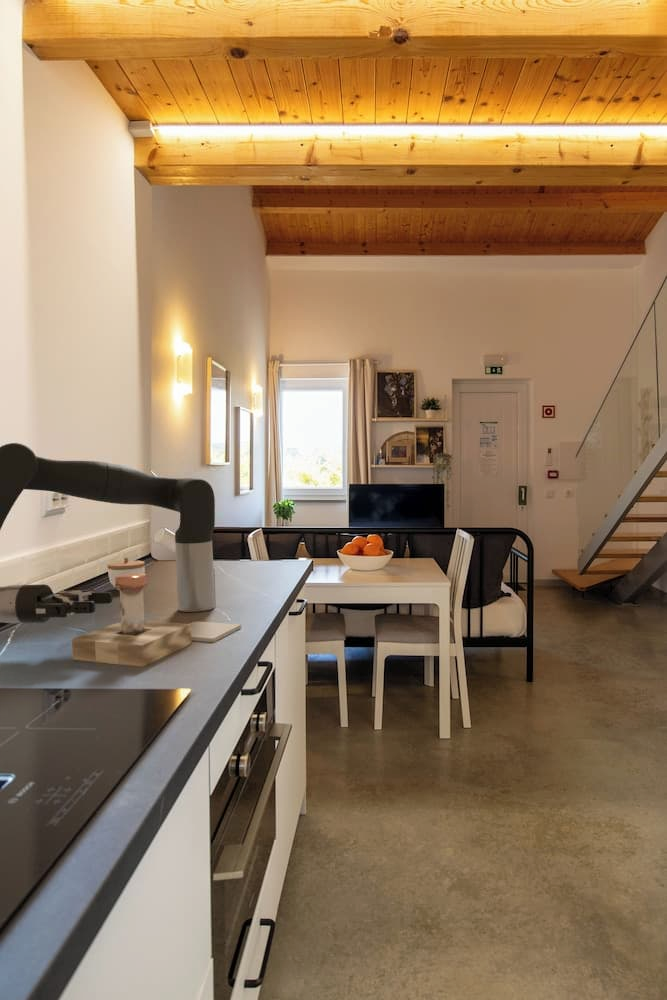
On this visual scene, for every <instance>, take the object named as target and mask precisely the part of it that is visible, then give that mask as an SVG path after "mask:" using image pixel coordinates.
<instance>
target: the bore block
mask: <svg viewBox="0 0 667 1000" xmlns="http://www.w3.org/2000/svg"><path fill="white" fill-rule="evenodd" d="M191 644H192V641H191V624H190V623H178V622H166V621H165V622H162V621H150V620H145V632H144V633H142V634H139V635H137V636H134V635H122V627H121V621H118V622H116V623H113V624H110V625H107V626H105V627H101V628H99V629H97V630H93V631H91V632H89V633H84V634H82V635H79V636H77V637H75V638H74V637H73V638H71V645H72V646H71V647H72V660H73V661H81V662H89V663H101V664H111V665H120V666H131V667H132V666H133V667H139V668H144V667H146V666H148V665H150V664H152V663H154V662H157V661H158V660H161V659H163V658H165V657H166V656H168V655H171V654H173V653H175V652H177V651H179V650H181V649H183V648H185V647H187V646H189V645H191Z"/></svg>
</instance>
